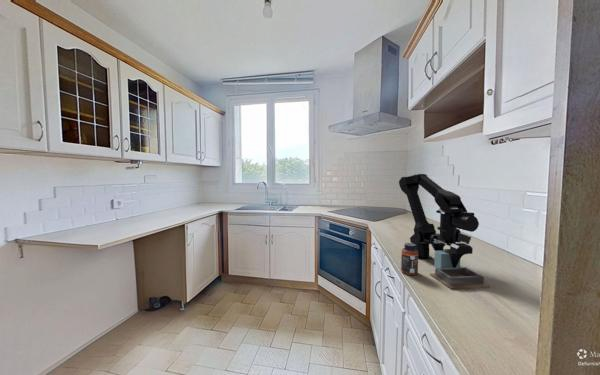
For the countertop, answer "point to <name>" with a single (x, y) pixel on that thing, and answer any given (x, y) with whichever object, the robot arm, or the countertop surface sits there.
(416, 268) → the supplement bottle
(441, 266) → the cabinet block
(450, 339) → the countertop surface
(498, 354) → the countertop surface
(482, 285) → the socket board
